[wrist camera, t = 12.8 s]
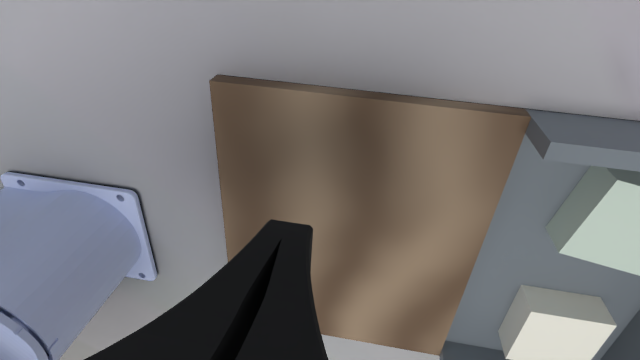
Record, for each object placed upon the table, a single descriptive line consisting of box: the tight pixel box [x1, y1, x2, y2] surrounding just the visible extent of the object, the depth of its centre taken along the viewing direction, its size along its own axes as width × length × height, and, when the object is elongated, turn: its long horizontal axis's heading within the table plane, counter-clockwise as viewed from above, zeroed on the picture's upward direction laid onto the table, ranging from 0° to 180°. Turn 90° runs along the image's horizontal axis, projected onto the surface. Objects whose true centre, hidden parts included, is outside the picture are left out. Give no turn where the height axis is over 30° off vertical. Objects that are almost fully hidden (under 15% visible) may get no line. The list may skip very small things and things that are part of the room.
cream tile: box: [498, 285, 617, 360], centre depth 23 cm, size 4×4×2 cm
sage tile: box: [545, 166, 640, 276], centre depth 18 cm, size 4×4×2 cm
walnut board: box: [209, 75, 531, 355], centre depth 23 cm, size 15×18×1 cm
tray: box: [439, 109, 640, 360], centre depth 21 cm, size 11×18×4 cm, turn 177°
